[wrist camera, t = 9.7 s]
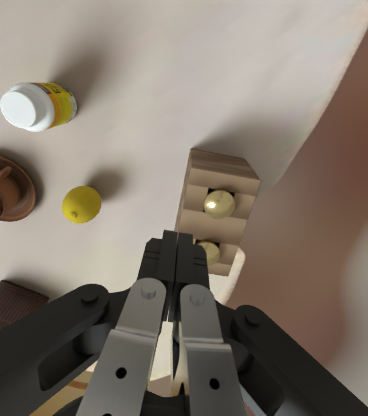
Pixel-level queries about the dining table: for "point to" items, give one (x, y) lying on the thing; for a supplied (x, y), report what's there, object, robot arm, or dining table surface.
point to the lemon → (81, 204)
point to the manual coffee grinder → (17, 302)
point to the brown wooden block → (197, 191)
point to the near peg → (219, 203)
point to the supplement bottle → (38, 105)
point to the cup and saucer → (15, 192)
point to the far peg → (210, 250)
